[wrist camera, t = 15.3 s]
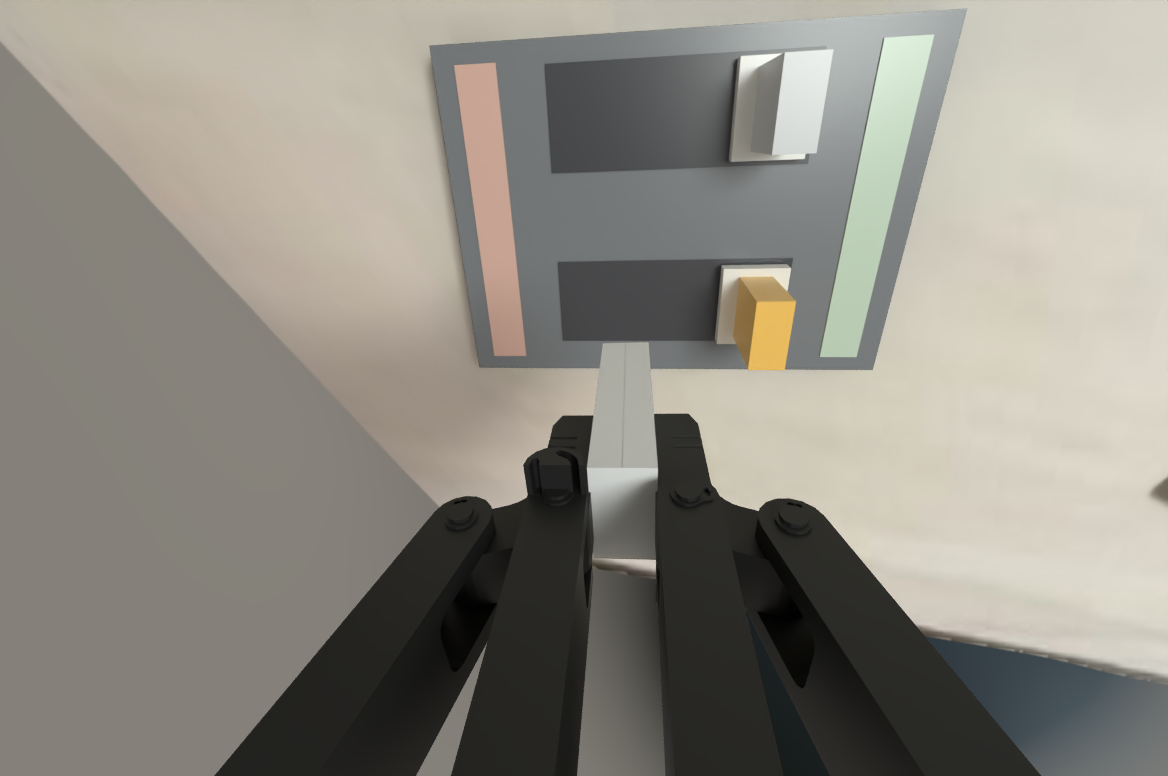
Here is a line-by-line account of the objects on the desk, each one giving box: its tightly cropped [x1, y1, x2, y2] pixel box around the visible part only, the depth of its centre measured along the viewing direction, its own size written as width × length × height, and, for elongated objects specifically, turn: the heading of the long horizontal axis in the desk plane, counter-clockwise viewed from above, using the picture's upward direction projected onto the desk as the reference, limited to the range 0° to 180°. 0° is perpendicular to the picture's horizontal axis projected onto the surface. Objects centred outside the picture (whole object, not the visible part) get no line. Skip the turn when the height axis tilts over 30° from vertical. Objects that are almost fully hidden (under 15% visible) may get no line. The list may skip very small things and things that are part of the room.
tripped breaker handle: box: [715, 264, 796, 370], centre depth 29 cm, size 5×4×6 cm
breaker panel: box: [429, 9, 967, 370], centre depth 29 cm, size 20×28×8 cm
